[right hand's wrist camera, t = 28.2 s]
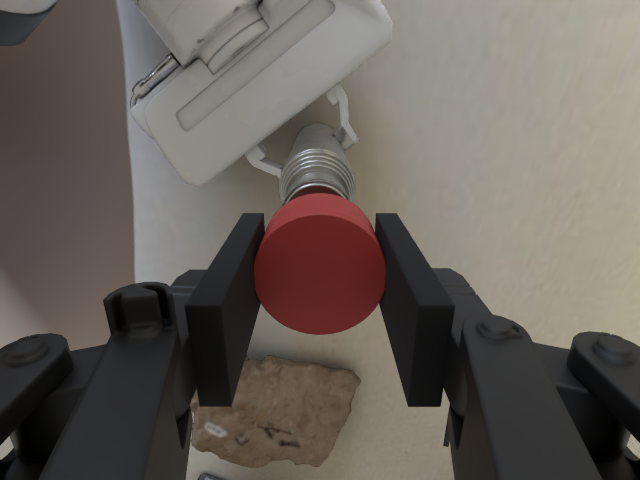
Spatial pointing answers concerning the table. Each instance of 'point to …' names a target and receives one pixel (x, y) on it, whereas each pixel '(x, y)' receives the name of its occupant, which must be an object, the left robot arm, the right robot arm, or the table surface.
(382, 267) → the cap
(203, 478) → the graphics card box
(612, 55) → the table surface
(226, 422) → the stone
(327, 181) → the bottle
